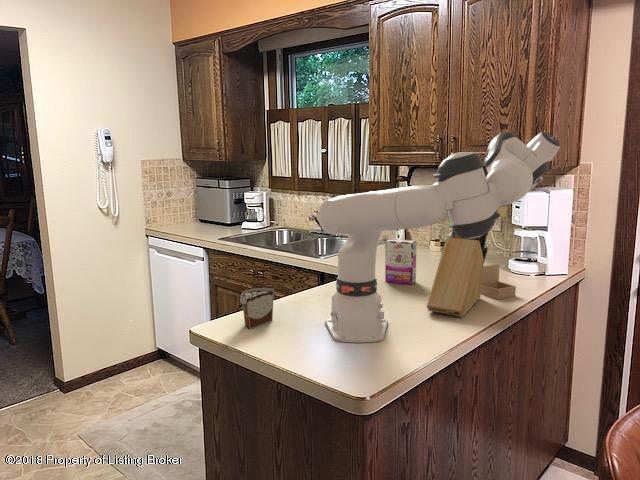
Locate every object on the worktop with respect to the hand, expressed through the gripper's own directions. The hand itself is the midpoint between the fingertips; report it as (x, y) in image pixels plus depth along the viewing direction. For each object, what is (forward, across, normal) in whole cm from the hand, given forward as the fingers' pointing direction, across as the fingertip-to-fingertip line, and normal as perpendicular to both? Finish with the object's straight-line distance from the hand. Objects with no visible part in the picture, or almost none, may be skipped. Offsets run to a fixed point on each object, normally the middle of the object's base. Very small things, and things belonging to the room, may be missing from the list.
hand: (496, 200), depth 183 cm
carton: (+22, 0, -25) cm, 33 cm away
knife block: (+22, -18, -26) cm, 38 cm away
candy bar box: (+44, -19, -3) cm, 48 cm away
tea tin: (+3, 0, -4) cm, 5 cm away
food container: (+33, -86, -14) cm, 93 cm away
